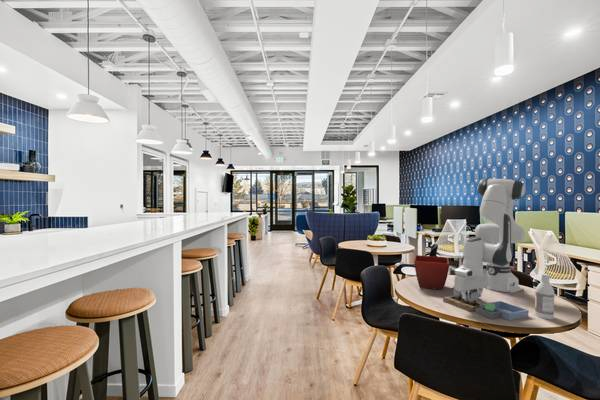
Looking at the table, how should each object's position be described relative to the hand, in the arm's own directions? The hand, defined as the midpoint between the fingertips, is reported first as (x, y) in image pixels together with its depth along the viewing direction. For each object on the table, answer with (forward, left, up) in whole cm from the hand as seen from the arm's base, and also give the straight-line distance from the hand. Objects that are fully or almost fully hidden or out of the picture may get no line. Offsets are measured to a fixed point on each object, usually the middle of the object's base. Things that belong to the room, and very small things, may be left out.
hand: (471, 297), depth 156 cm
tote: (-8, +11, -5) cm, 15 cm away
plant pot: (-10, -36, -5) cm, 37 cm away
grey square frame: (+1, +10, -5) cm, 12 cm away
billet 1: (0, -8, -5) cm, 9 cm away
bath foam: (-22, +20, -5) cm, 30 cm away
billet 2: (0, +1, -5) cm, 5 cm away
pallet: (0, -4, -5) cm, 6 cm away
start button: (+1, +10, -3) cm, 11 cm away
